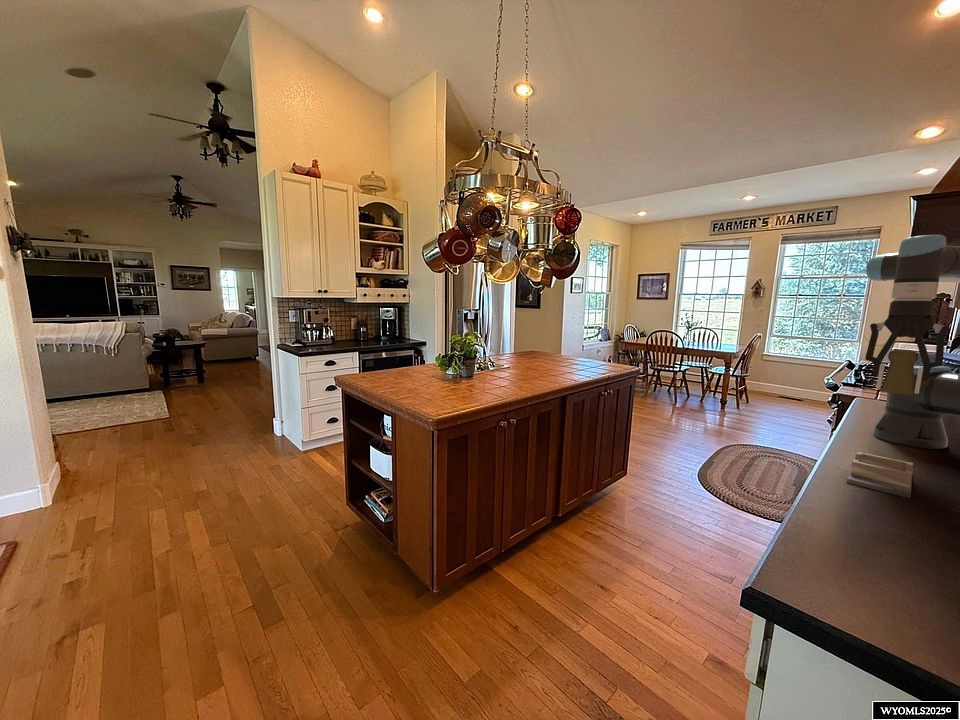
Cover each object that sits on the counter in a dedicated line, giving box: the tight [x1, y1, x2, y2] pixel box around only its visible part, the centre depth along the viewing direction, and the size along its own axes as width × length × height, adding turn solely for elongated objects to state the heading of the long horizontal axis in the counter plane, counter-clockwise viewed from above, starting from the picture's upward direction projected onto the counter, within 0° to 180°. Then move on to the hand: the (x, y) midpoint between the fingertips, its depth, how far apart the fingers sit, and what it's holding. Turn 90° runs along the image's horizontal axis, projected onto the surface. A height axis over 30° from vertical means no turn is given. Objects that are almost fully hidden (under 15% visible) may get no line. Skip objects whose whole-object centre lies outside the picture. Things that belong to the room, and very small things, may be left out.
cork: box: [879, 348, 919, 395], centre depth 99 cm, size 6×6×11 cm
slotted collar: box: [846, 451, 914, 499], centre depth 92 cm, size 18×10×4 cm, turn 131°
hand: (897, 390), depth 100 cm, fingers closed on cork, 6 cm apart
